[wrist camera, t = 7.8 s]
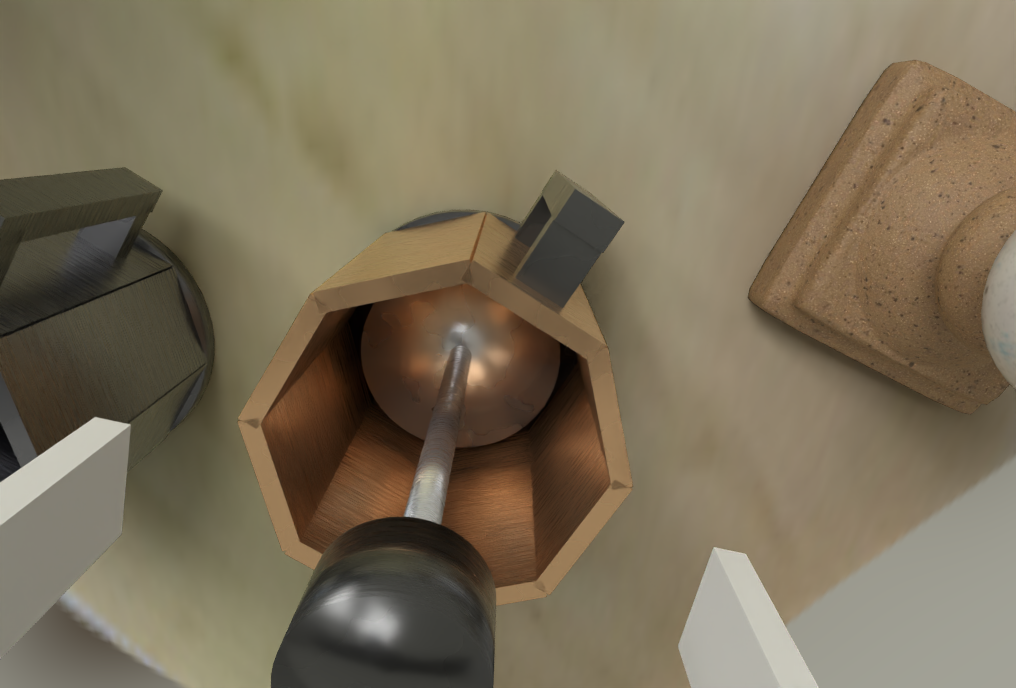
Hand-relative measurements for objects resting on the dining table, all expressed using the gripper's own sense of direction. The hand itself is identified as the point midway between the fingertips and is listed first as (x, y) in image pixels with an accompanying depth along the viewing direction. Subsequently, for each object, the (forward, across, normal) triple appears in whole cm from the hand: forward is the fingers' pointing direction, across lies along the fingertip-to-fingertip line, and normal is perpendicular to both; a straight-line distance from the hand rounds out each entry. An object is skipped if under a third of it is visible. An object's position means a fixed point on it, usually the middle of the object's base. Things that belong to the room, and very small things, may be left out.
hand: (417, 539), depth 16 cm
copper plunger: (+14, 0, 0) cm, 14 cm away
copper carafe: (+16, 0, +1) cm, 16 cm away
